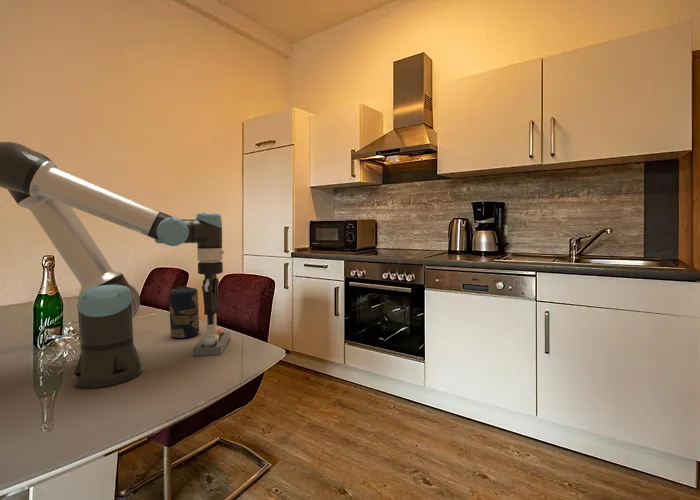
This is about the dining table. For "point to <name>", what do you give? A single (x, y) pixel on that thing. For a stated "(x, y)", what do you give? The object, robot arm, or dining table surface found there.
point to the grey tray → (214, 350)
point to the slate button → (209, 341)
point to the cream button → (215, 336)
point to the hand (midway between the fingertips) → (211, 333)
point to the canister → (184, 312)
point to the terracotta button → (219, 331)
